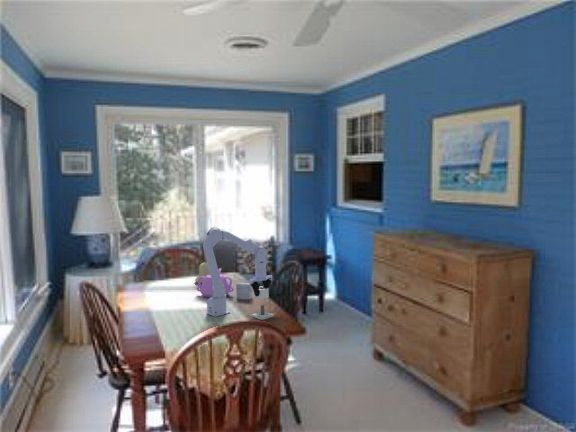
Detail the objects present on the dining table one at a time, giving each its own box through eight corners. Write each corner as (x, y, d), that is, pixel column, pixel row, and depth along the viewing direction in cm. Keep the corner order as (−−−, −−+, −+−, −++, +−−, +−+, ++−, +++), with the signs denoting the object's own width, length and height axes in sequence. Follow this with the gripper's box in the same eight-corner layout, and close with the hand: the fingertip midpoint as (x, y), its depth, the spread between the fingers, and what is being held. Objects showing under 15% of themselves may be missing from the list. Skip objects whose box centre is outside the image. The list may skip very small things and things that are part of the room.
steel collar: (260, 299, 240) (260, 290, 239) (253, 297, 244) (253, 288, 243) (268, 297, 244) (268, 288, 243) (261, 295, 248) (261, 286, 247)
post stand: (261, 319, 227) (261, 309, 227) (251, 316, 233) (251, 305, 233) (273, 316, 233) (273, 305, 232) (263, 312, 239) (263, 302, 238)
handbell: (199, 286, 294) (197, 247, 292) (191, 281, 308) (190, 243, 305) (222, 283, 302) (220, 245, 299) (214, 278, 315) (212, 241, 313)
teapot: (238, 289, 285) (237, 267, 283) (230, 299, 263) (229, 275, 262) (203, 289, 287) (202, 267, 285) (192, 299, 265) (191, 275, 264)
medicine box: (252, 297, 267) (251, 283, 266) (249, 300, 262) (249, 284, 262) (239, 297, 269) (239, 282, 268) (236, 299, 265) (236, 284, 264)
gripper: (254, 272, 234) (255, 299, 236) (276, 268, 244) (276, 293, 246) (246, 270, 239) (246, 296, 241) (267, 266, 249) (267, 291, 251)
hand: (261, 294), depth 243 cm, fingers closed on steel collar, 6 cm apart
